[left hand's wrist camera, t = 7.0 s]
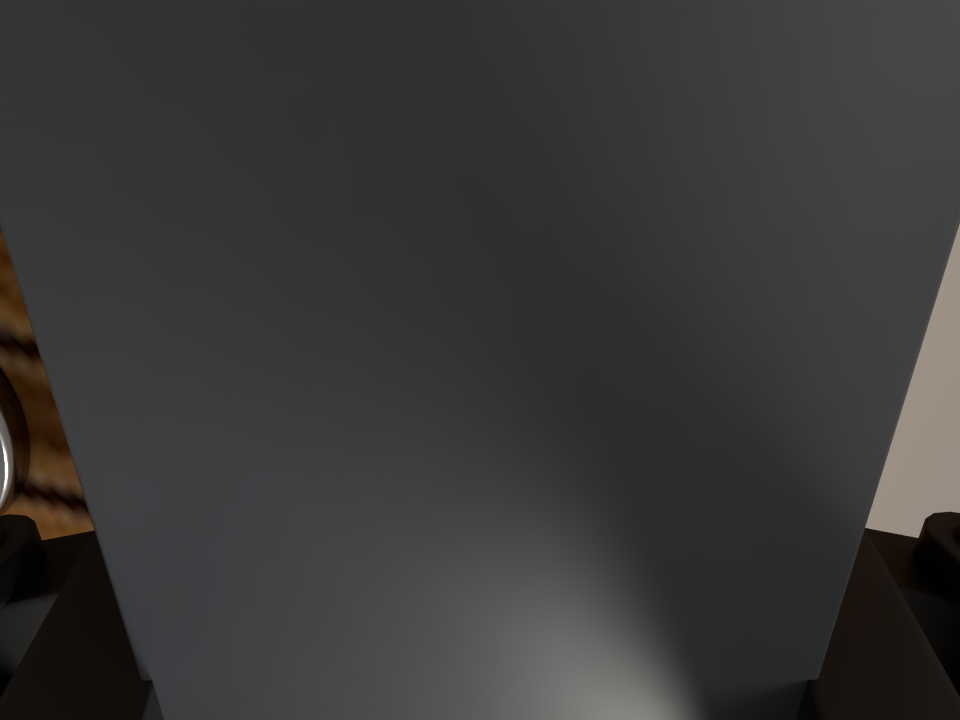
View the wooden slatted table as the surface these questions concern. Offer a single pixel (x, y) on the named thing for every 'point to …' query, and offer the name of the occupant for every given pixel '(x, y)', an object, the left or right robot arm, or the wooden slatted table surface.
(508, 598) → the box
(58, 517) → the wooden slatted table surface
